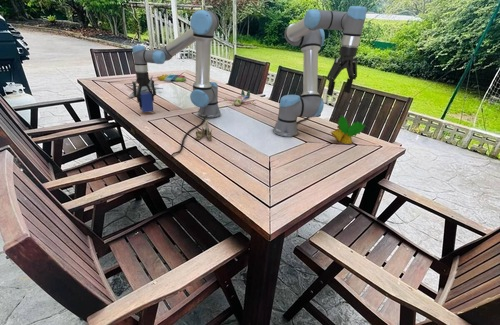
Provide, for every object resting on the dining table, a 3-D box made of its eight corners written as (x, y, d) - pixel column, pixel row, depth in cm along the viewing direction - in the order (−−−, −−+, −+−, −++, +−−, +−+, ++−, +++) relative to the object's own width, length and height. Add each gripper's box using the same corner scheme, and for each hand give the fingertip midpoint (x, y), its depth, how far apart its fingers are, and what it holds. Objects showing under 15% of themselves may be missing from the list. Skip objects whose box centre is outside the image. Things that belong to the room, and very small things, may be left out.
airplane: (122, 88, 234) (120, 76, 229) (158, 85, 247) (157, 74, 242) (127, 100, 206) (124, 88, 201) (167, 97, 219) (166, 85, 214)
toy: (261, 91, 228) (254, 99, 202) (261, 99, 231) (253, 108, 205) (231, 87, 233) (220, 95, 207) (230, 95, 236) (219, 104, 210)
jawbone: (214, 123, 159) (213, 113, 150) (213, 145, 152) (211, 136, 143) (199, 123, 159) (196, 113, 150) (197, 144, 152) (194, 135, 143)
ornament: (349, 145, 167) (356, 122, 165) (358, 147, 159) (366, 123, 158) (324, 137, 159) (331, 113, 157) (333, 139, 151) (341, 114, 149)
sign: (184, 80, 268) (154, 78, 265) (184, 82, 269) (154, 80, 266) (187, 75, 290) (160, 74, 287) (187, 76, 291) (160, 75, 288)
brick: (150, 108, 185) (148, 91, 179) (153, 111, 180) (151, 93, 174) (140, 109, 181) (137, 92, 176) (143, 112, 176) (141, 94, 171)
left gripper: (155, 69, 176) (158, 103, 187) (124, 71, 165) (129, 106, 177) (159, 71, 171) (162, 106, 182) (127, 73, 160) (132, 109, 171)
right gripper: (358, 45, 126) (347, 89, 136) (324, 45, 113) (315, 94, 123) (372, 47, 121) (360, 93, 131) (338, 47, 107) (328, 98, 118)
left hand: (146, 106), depth 179 cm, fingers closed on brick, 7 cm apart
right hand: (338, 93), depth 127 cm, fingers open, 13 cm apart
